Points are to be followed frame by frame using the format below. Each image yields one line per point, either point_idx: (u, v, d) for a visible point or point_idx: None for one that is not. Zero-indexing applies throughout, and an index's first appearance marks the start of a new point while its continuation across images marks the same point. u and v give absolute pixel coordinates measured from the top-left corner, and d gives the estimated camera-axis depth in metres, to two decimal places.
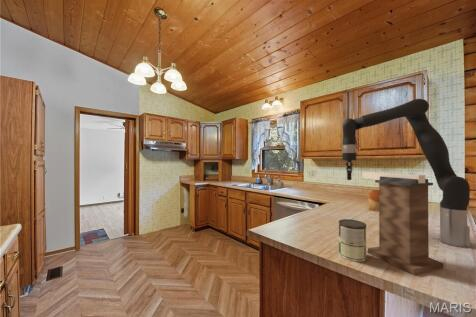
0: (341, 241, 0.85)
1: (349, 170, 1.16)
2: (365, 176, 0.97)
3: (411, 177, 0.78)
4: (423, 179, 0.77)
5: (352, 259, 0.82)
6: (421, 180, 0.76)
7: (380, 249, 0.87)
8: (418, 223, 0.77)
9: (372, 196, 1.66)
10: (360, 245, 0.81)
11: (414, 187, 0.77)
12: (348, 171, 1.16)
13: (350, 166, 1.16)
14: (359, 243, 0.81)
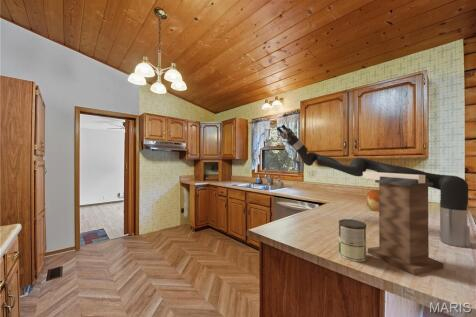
0: (341, 241, 0.85)
1: (289, 130, 1.40)
2: (365, 176, 0.97)
3: (411, 177, 0.78)
4: (423, 179, 0.77)
5: (352, 259, 0.82)
6: (421, 180, 0.76)
7: (380, 249, 0.87)
8: (418, 223, 0.77)
9: (374, 196, 1.65)
10: (360, 245, 0.81)
11: (414, 187, 0.77)
12: (289, 129, 1.40)
13: (291, 133, 1.40)
14: (359, 243, 0.81)
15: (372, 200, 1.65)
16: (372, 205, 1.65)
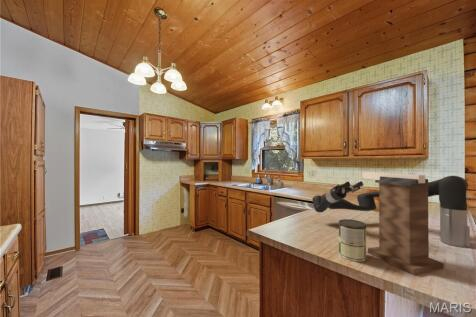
0: (341, 241, 0.85)
1: None
2: (365, 176, 0.97)
3: (411, 177, 0.78)
4: (423, 179, 0.77)
5: (352, 259, 0.82)
6: (421, 180, 0.76)
7: (380, 249, 0.87)
8: (418, 223, 0.77)
9: (378, 197, 1.63)
10: (360, 245, 0.81)
11: (414, 187, 0.77)
12: None
13: None
14: (359, 243, 0.81)
15: (376, 200, 1.63)
16: (376, 205, 1.63)
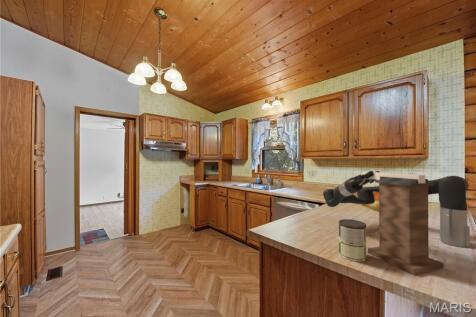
0: (341, 241, 0.85)
1: None
2: None
3: (411, 177, 0.78)
4: (423, 179, 0.77)
5: (352, 259, 0.82)
6: (422, 180, 0.76)
7: (380, 249, 0.87)
8: (418, 223, 0.77)
9: None
10: (360, 245, 0.81)
11: (414, 187, 0.77)
12: None
13: None
14: (359, 243, 0.81)
15: None
16: None
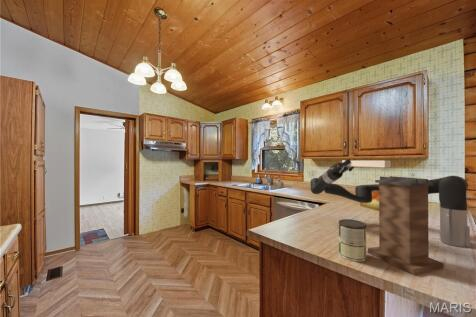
0: (341, 241, 0.85)
1: (352, 166, 1.12)
2: None
3: (379, 162, 0.90)
4: (389, 164, 0.89)
5: (352, 259, 0.82)
6: (387, 165, 0.88)
7: (380, 249, 0.87)
8: (418, 223, 0.77)
9: None
10: (360, 245, 0.81)
11: (414, 187, 0.77)
12: None
13: None
14: (359, 243, 0.81)
15: None
16: None
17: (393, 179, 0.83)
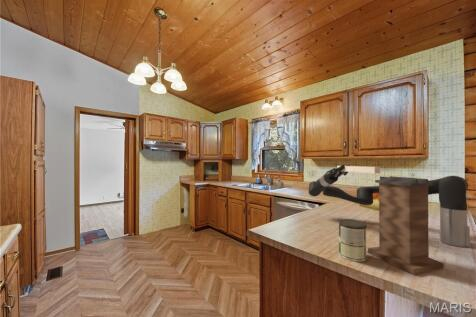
0: (341, 241, 0.85)
1: None
2: None
3: (370, 169, 1.00)
4: (378, 170, 0.98)
5: (352, 259, 0.82)
6: (377, 171, 0.98)
7: (380, 249, 0.87)
8: (418, 223, 0.77)
9: None
10: (360, 245, 0.81)
11: (414, 187, 0.77)
12: None
13: None
14: (359, 243, 0.81)
15: None
16: None
17: (393, 179, 0.83)
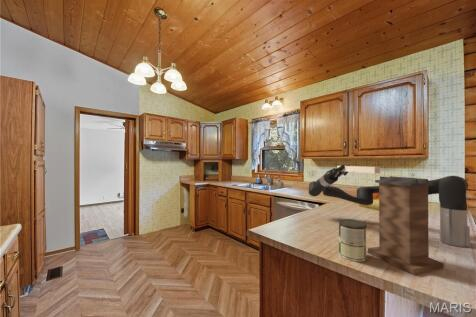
0: (341, 241, 0.85)
1: None
2: None
3: (370, 169, 1.00)
4: (378, 170, 0.98)
5: (352, 259, 0.82)
6: (377, 171, 0.98)
7: (380, 249, 0.87)
8: (418, 223, 0.77)
9: None
10: (360, 245, 0.81)
11: (414, 187, 0.77)
12: None
13: None
14: (359, 243, 0.81)
15: None
16: None
17: (393, 179, 0.83)
